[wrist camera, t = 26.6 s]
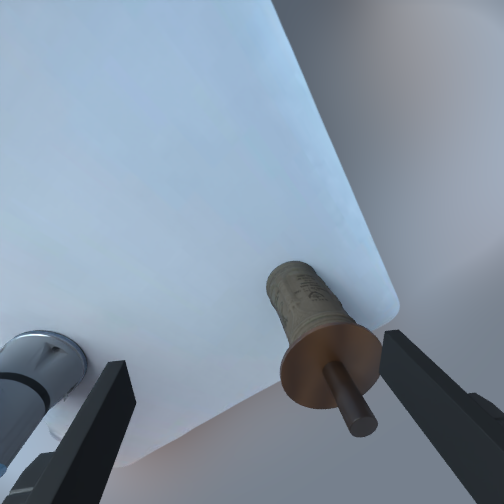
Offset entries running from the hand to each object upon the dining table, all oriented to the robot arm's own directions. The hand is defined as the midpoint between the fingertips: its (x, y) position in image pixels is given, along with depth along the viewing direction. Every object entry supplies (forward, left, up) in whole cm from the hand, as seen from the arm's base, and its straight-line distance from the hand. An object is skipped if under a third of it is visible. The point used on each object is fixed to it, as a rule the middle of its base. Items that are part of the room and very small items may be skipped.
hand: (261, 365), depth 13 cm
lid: (+11, -16, -15) cm, 25 cm away
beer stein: (+11, -16, -35) cm, 40 cm away
